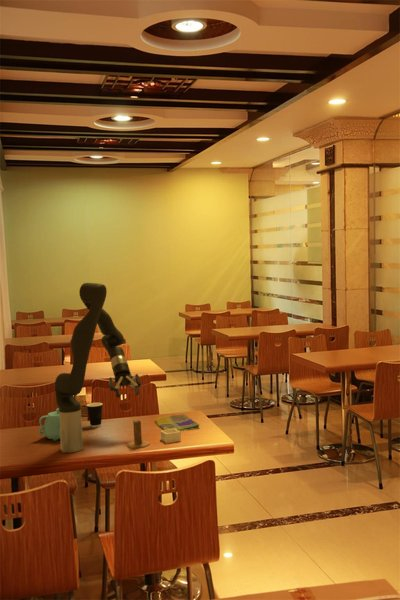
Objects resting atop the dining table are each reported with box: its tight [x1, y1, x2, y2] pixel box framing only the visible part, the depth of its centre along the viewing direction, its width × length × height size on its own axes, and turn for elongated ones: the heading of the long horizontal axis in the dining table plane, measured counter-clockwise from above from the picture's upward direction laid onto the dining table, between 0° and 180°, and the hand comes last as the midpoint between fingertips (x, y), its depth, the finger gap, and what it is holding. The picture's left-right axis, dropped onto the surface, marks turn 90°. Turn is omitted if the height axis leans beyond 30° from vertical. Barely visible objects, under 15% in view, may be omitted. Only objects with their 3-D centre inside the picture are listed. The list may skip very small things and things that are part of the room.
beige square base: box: [160, 429, 182, 444], centre depth 278 cm, size 7×7×4 cm
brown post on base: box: [126, 419, 150, 450], centre depth 272 cm, size 10×10×11 cm
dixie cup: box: [86, 402, 103, 428], centre depth 311 cm, size 8×8×11 cm
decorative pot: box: [38, 407, 60, 442], centre depth 293 cm, size 16×16×14 cm
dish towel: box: [154, 413, 200, 432], centre depth 305 cm, size 18×24×3 cm
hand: (128, 395), depth 283 cm, fingers open, 8 cm apart
